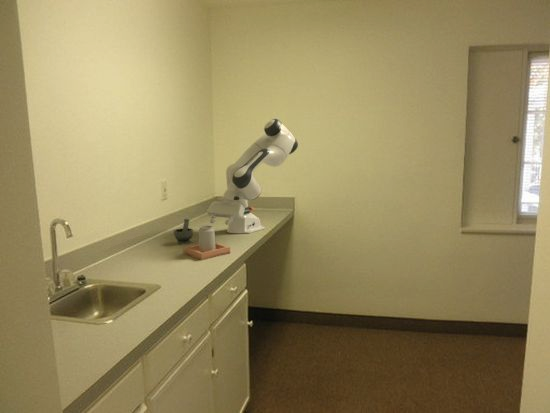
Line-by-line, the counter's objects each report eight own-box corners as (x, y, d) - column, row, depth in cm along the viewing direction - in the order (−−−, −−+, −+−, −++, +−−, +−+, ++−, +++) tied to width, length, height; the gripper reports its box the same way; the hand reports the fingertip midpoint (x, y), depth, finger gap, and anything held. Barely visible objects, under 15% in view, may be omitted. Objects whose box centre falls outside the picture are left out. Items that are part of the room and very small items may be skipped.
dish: (212, 247, 207) (211, 241, 207) (230, 253, 196) (229, 246, 195) (184, 254, 197) (184, 247, 197) (202, 260, 186) (201, 253, 185)
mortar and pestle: (188, 245, 213) (186, 222, 211) (171, 245, 215) (169, 222, 214) (197, 240, 224) (195, 218, 222) (181, 239, 226) (179, 218, 224)
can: (218, 250, 198) (217, 225, 196) (210, 254, 191) (209, 228, 190) (204, 249, 201) (203, 224, 199) (196, 253, 194) (194, 227, 192)
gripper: (211, 196, 215) (199, 218, 209) (243, 198, 205) (232, 221, 198) (216, 203, 220) (205, 225, 213) (249, 205, 210) (238, 228, 203)
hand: (219, 223), depth 206 cm, fingers open, 8 cm apart
